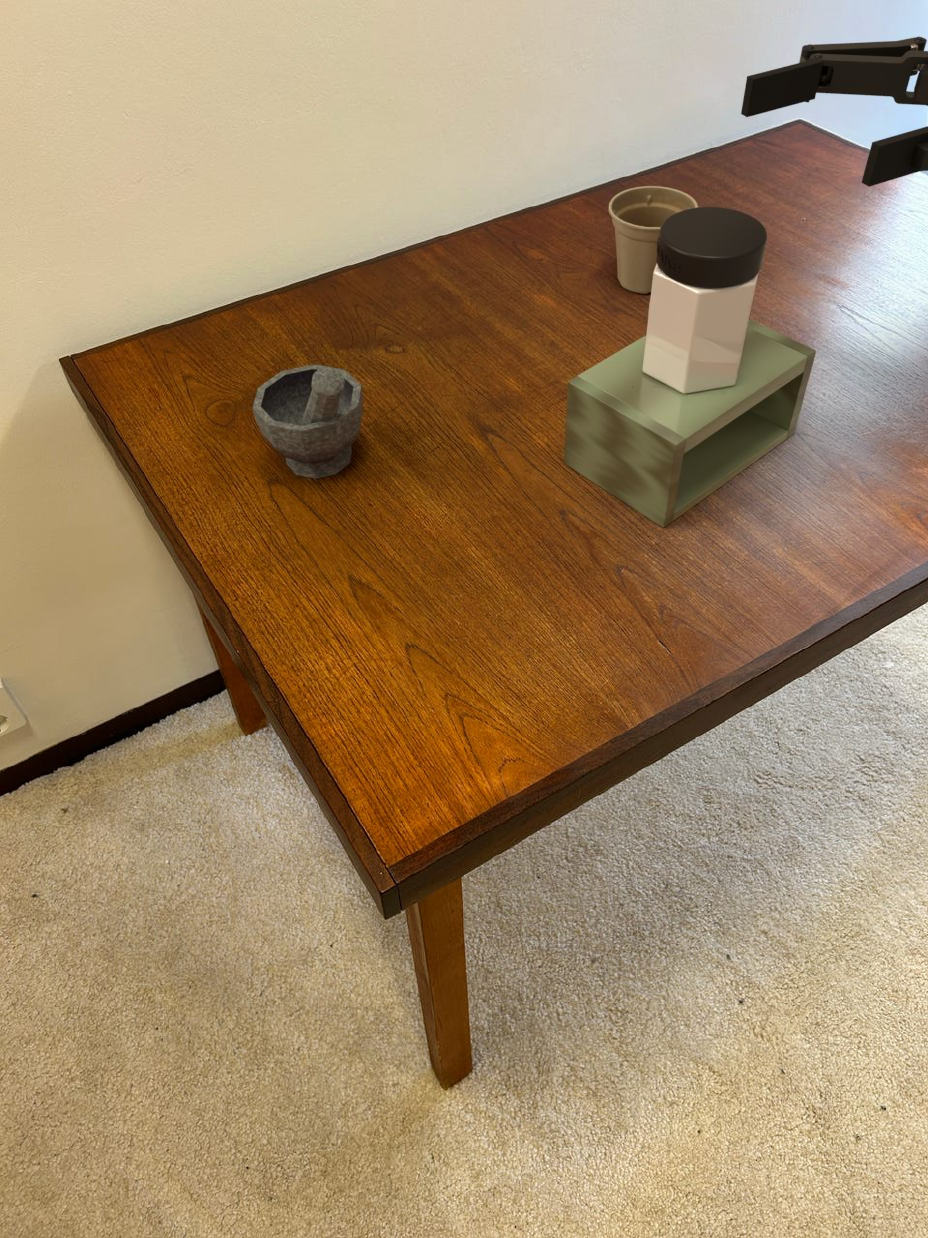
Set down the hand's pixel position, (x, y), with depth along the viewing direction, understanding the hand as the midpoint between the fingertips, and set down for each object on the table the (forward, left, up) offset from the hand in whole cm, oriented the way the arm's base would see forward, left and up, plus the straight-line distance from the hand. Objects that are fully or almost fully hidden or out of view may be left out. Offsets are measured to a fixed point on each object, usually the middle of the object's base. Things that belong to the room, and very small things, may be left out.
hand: (804, 128), depth 69 cm
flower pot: (+25, -15, -28) cm, 40 cm away
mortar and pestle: (+25, +30, -28) cm, 48 cm away
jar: (+3, +5, -19) cm, 20 cm away
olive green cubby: (+3, +5, -28) cm, 28 cm away
